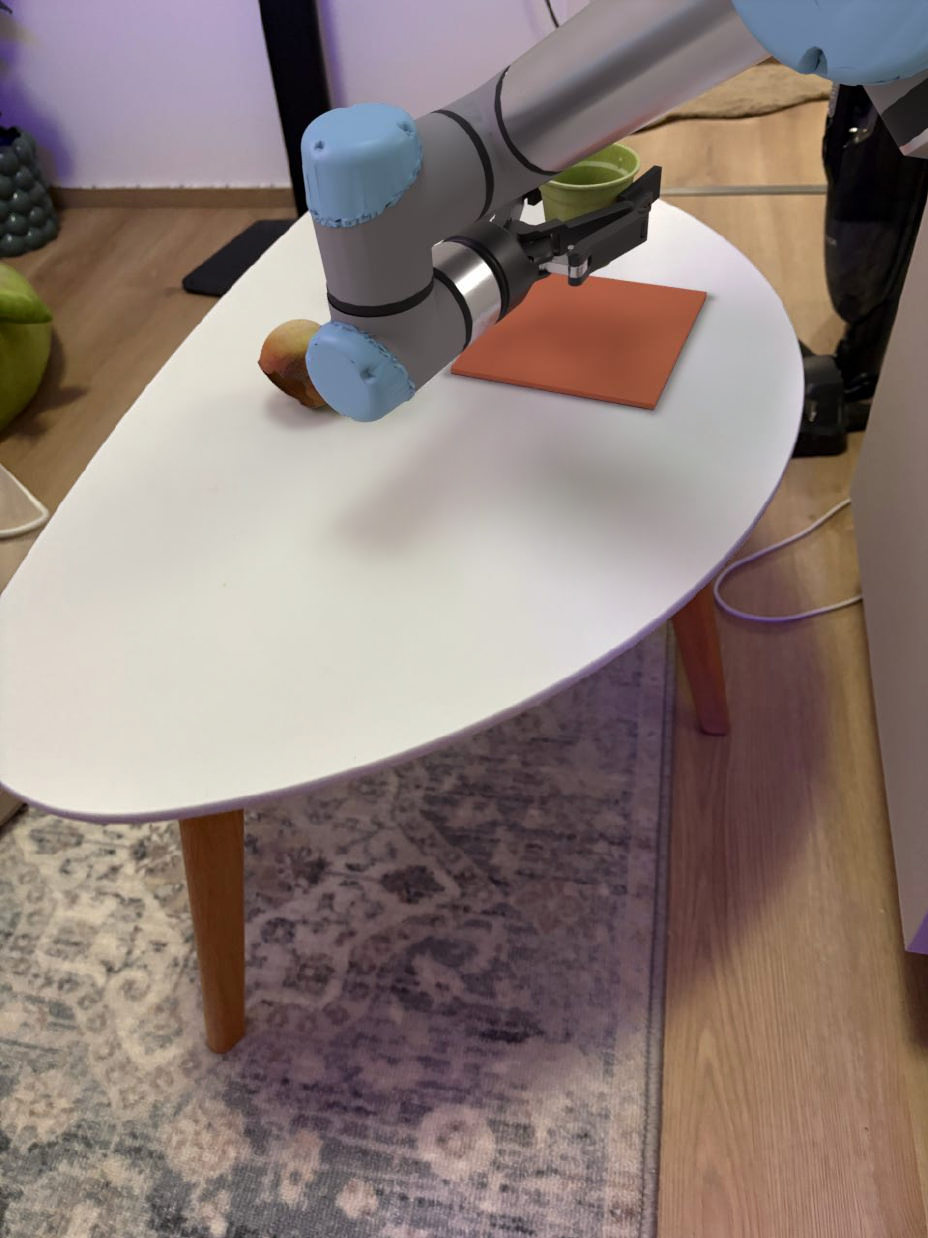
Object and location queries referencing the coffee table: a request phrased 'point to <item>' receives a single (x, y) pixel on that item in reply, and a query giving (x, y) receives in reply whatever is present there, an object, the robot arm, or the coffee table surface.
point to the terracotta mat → (588, 339)
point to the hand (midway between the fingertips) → (611, 171)
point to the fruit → (291, 361)
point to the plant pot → (590, 183)
